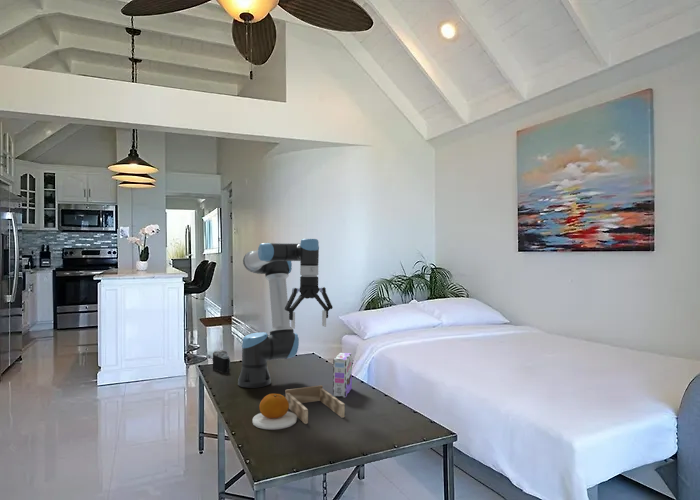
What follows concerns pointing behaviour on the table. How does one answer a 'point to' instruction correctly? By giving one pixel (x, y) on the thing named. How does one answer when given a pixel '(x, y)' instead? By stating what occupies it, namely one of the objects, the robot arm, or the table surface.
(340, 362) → the candy box
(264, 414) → the fruit
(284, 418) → the plate
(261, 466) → the table surface
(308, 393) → the oak open frame
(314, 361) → the table surface
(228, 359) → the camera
